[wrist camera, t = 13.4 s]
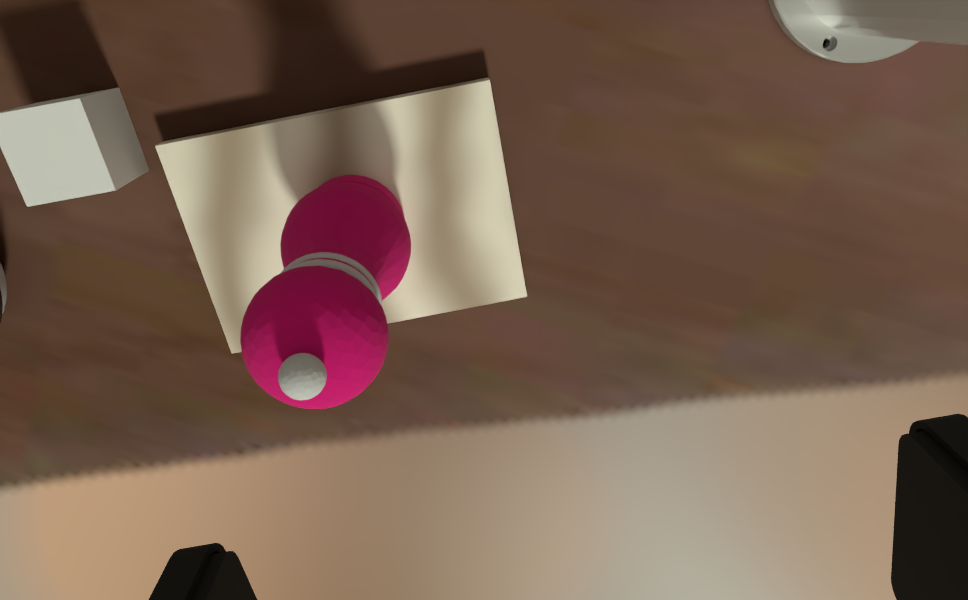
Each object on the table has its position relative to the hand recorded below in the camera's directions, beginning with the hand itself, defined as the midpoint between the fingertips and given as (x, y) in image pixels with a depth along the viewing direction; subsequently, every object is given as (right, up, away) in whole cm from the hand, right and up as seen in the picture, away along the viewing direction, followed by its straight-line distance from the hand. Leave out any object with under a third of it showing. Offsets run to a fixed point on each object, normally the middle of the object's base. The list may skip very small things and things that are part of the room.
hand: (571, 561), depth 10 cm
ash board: (-10, +9, +35) cm, 38 cm away
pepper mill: (-9, +9, +34) cm, 36 cm away
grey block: (-25, +14, +32) cm, 43 cm away
